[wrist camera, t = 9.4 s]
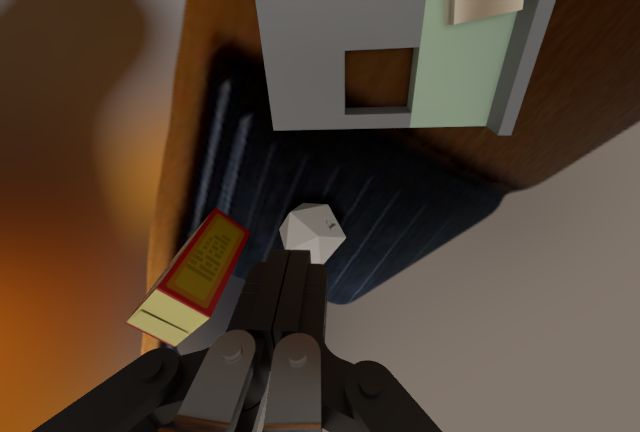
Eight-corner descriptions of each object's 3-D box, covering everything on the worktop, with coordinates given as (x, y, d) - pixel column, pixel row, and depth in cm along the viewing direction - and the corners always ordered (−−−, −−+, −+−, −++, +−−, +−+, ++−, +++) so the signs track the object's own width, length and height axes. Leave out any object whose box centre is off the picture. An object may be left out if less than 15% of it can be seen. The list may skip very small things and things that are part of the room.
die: (342, 239, 45) (363, 247, 36) (295, 268, 44) (304, 284, 34) (317, 194, 44) (332, 189, 35) (268, 221, 43) (269, 224, 33)
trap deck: (573, -202, 20) (646, -274, 15) (486, 117, 32) (511, 135, 27) (243, -160, 22) (212, -211, 18) (279, 122, 35) (267, 139, 30)
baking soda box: (215, 207, 43) (155, 290, 30) (250, 232, 45) (209, 320, 32) (186, 241, 47) (123, 326, 34) (219, 262, 49) (172, 350, 36)
